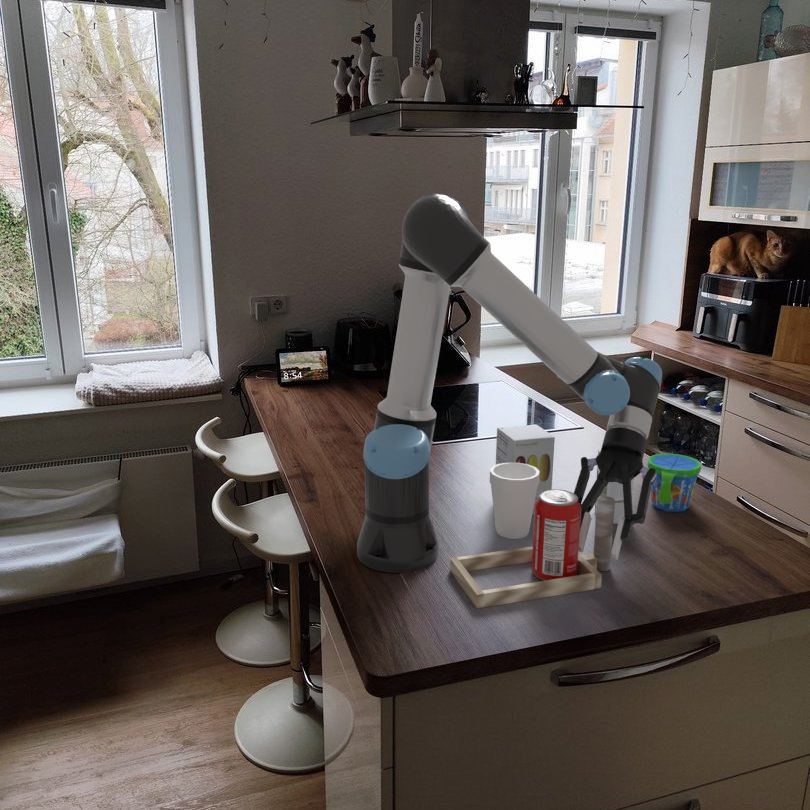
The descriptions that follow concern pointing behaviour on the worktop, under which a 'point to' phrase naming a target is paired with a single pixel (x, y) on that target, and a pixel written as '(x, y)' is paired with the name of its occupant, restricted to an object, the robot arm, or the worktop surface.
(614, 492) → the syrup box
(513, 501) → the foam cup
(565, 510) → the soda can
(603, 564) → the birch pull frame
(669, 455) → the snack cup
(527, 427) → the supplement box
